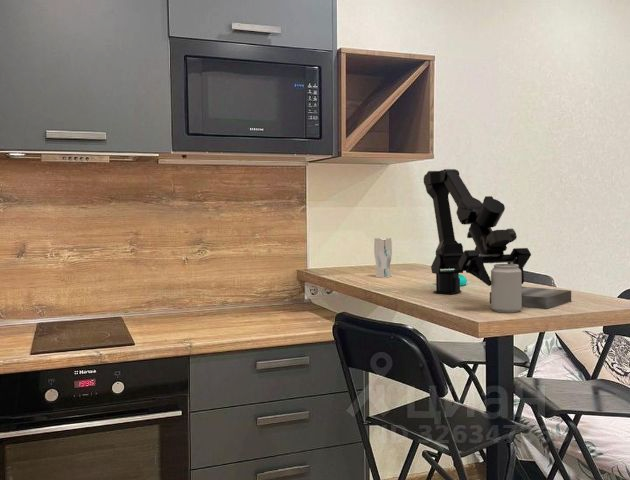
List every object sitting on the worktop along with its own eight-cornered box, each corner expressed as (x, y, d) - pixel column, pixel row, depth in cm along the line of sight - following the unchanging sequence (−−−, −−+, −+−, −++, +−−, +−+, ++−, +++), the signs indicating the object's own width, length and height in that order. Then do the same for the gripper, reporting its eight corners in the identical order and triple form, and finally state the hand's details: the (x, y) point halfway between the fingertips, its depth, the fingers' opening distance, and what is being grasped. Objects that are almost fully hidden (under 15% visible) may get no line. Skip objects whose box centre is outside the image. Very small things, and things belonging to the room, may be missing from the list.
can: (517, 308, 156) (517, 262, 156) (524, 313, 149) (524, 265, 148) (488, 308, 157) (488, 263, 156) (494, 313, 150) (494, 265, 149)
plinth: (489, 303, 165) (489, 292, 165) (516, 296, 176) (516, 286, 176) (546, 309, 154) (546, 297, 154) (571, 301, 165) (571, 290, 165)
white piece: (396, 276, 231) (395, 238, 230) (382, 278, 227) (381, 239, 226) (384, 275, 237) (383, 237, 236) (370, 276, 233) (370, 238, 232)
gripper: (462, 219, 155) (484, 265, 144) (527, 217, 159) (552, 262, 149) (449, 248, 163) (469, 293, 153) (511, 245, 167) (534, 289, 157)
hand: (506, 284), depth 152 cm, fingers open, 9 cm apart
